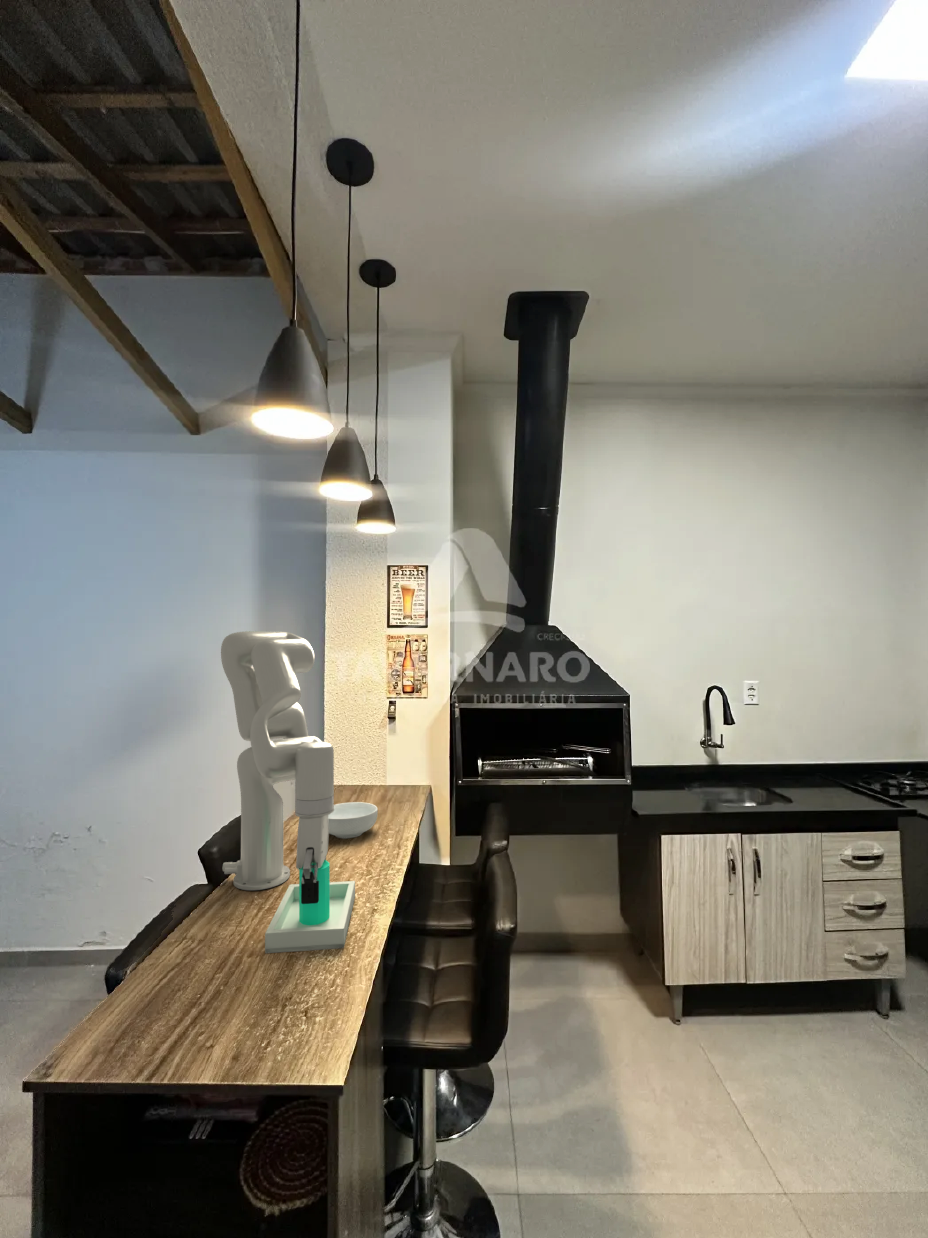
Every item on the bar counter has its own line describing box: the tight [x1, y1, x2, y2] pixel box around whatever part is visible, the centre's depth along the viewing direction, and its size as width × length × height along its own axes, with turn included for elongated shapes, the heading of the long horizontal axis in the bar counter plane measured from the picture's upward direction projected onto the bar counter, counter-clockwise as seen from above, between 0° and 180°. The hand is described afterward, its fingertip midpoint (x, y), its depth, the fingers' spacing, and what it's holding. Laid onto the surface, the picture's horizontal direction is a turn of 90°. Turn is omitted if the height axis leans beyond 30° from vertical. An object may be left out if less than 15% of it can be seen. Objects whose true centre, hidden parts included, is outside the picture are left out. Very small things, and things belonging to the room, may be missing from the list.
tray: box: [264, 880, 356, 954], centre depth 108 cm, size 14×20×4 cm
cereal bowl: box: [328, 801, 379, 839], centre depth 159 cm, size 17×17×7 cm
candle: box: [298, 859, 331, 926], centre depth 108 cm, size 6×6×12 cm
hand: (314, 891), depth 108 cm, fingers open, 9 cm apart
